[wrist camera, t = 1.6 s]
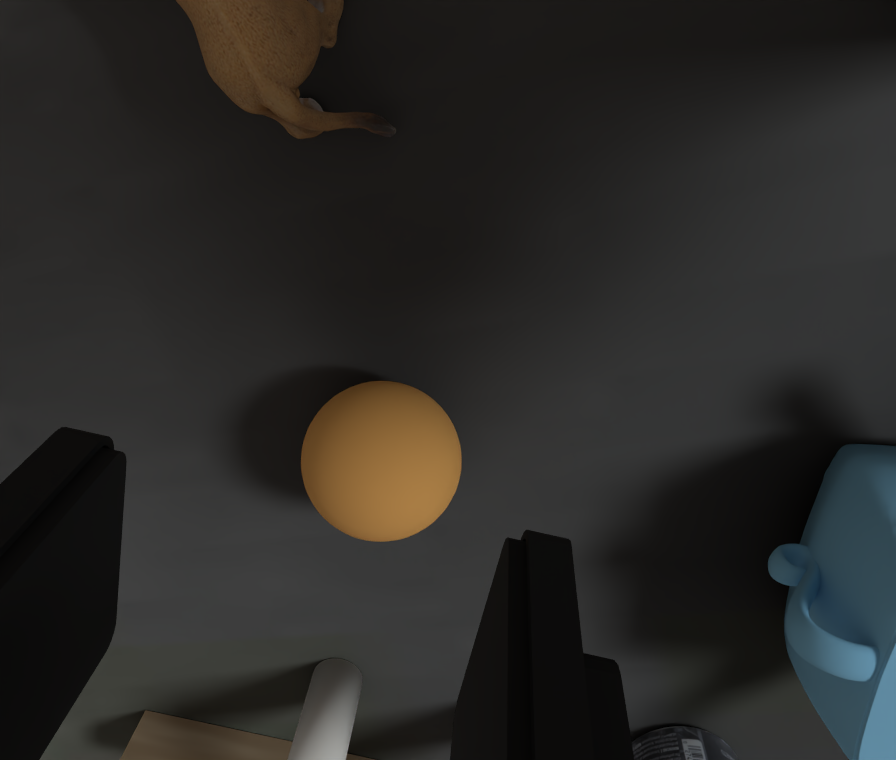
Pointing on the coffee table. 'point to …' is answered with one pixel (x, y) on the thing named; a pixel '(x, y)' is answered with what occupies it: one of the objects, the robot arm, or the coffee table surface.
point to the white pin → (328, 712)
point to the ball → (381, 461)
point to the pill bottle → (681, 745)
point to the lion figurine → (273, 59)
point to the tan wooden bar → (201, 742)
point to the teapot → (847, 601)
